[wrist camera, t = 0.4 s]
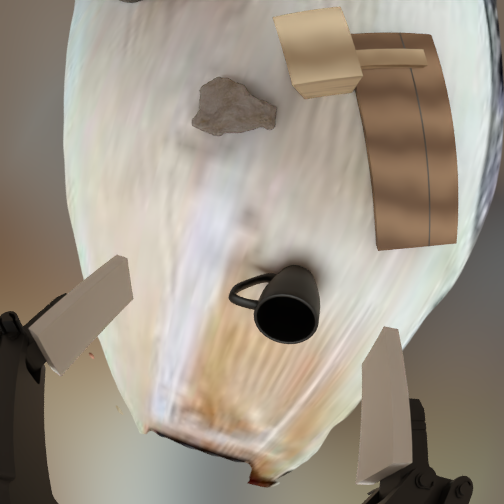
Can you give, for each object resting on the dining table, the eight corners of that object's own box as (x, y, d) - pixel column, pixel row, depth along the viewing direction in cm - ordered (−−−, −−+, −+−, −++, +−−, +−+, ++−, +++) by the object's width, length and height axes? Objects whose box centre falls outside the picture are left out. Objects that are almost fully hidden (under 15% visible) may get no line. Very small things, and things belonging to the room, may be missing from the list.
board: (340, 39, 24) (341, 34, 23) (426, 38, 20) (431, 34, 18) (376, 244, 35) (378, 250, 33) (451, 237, 31) (456, 243, 29)
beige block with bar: (291, 50, 27) (272, 17, 16) (407, 40, 21) (437, 9, 11) (304, 99, 29) (292, 85, 19) (421, 89, 24) (460, 76, 14)
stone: (282, 82, 29) (273, 74, 24) (275, 141, 33) (265, 144, 28) (210, 78, 31) (190, 73, 26) (205, 133, 35) (185, 136, 30)
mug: (254, 240, 40) (232, 272, 32) (331, 268, 39) (329, 308, 30) (241, 283, 44) (220, 320, 36) (311, 309, 43) (303, 351, 34)
